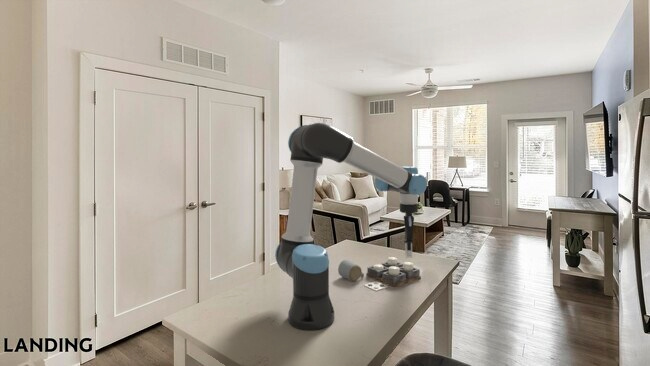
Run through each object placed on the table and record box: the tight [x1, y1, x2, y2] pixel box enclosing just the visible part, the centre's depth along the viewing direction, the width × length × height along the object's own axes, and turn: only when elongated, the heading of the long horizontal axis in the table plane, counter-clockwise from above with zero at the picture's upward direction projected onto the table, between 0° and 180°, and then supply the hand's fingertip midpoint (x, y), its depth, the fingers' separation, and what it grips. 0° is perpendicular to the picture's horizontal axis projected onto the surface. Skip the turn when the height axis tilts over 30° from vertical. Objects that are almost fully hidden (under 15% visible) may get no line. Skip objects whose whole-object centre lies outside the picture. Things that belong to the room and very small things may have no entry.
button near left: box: [372, 263, 384, 271], centre depth 146 cm, size 4×4×3 cm
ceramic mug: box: [337, 259, 365, 282], centre depth 145 cm, size 11×8×8 cm
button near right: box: [389, 266, 400, 277], centre depth 139 cm, size 4×4×3 cm
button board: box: [366, 261, 422, 289], centre depth 145 cm, size 16×17×4 cm
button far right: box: [402, 261, 414, 272], centre depth 144 cm, size 4×4×3 cm
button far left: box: [386, 256, 398, 266], centre depth 151 cm, size 4×4×3 cm
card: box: [363, 280, 389, 292], centre depth 136 cm, size 7×7×1 cm
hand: (408, 256), depth 144 cm, fingers closed
